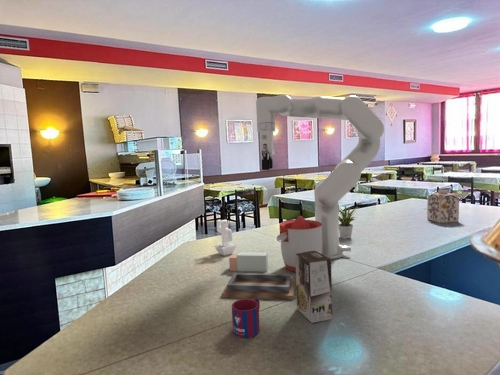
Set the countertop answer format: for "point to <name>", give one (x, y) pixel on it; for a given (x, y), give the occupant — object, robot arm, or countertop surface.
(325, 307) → the coffee box
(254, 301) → the mug
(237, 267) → the white bar
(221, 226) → the figurine
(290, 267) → the citrus juicer
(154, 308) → the countertop surface
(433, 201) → the decorative jar
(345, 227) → the house plant
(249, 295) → the jig
